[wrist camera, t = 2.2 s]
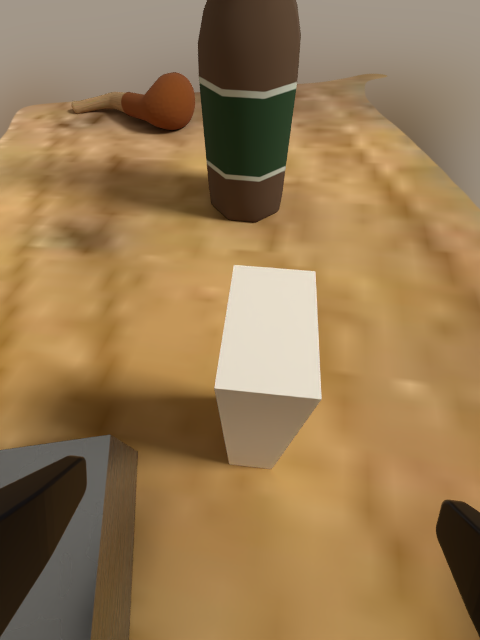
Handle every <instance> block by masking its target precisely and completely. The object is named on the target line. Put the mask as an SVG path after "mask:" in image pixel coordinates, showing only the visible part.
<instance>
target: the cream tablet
mask: <svg viewBox="0 0 480 640" xmlns="http://www.w3.org/2000/svg"><path fill="white" fill-rule="evenodd" d="M214 389H215V394H216V399H217V404H218V409H219V414H220V420H221V425H222V430H223V435H224V440H225V445H226V450H227V456H228V461H229V464H231V465H240V466H249V467H257V468H266V469H272V468H273V467H274V465H275V464H276V462H277V461H278V460H279V458H280V457H281V455H282V454H283V453H284V451H285V450H286V448H287V447H288V445H289V444H290V443H291V441H292V440H293V438H294V437H295V436H296V434H297V433H298V431H299V430H300V429H301V427H302V426H303V424H304V423H305V422H306V420H307V419H308V417H309V416H310V415H311V413H312V412H313V410H314V409H315V408H316V406H317V405H318V403H319V402H320V401H321V380H320V359H319V338H318V318H317V297H316V276H315V271H303V270H291V269H278V268H266V267H253V266H240V265H234V268H233V275H232V281H231V287H230V294H229V300H228V306H227V312H226V319H225V325H224V331H223V337H222V344H221V350H220V356H219V363H218V369H217V375H216V381H215V388H214Z"/></svg>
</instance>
